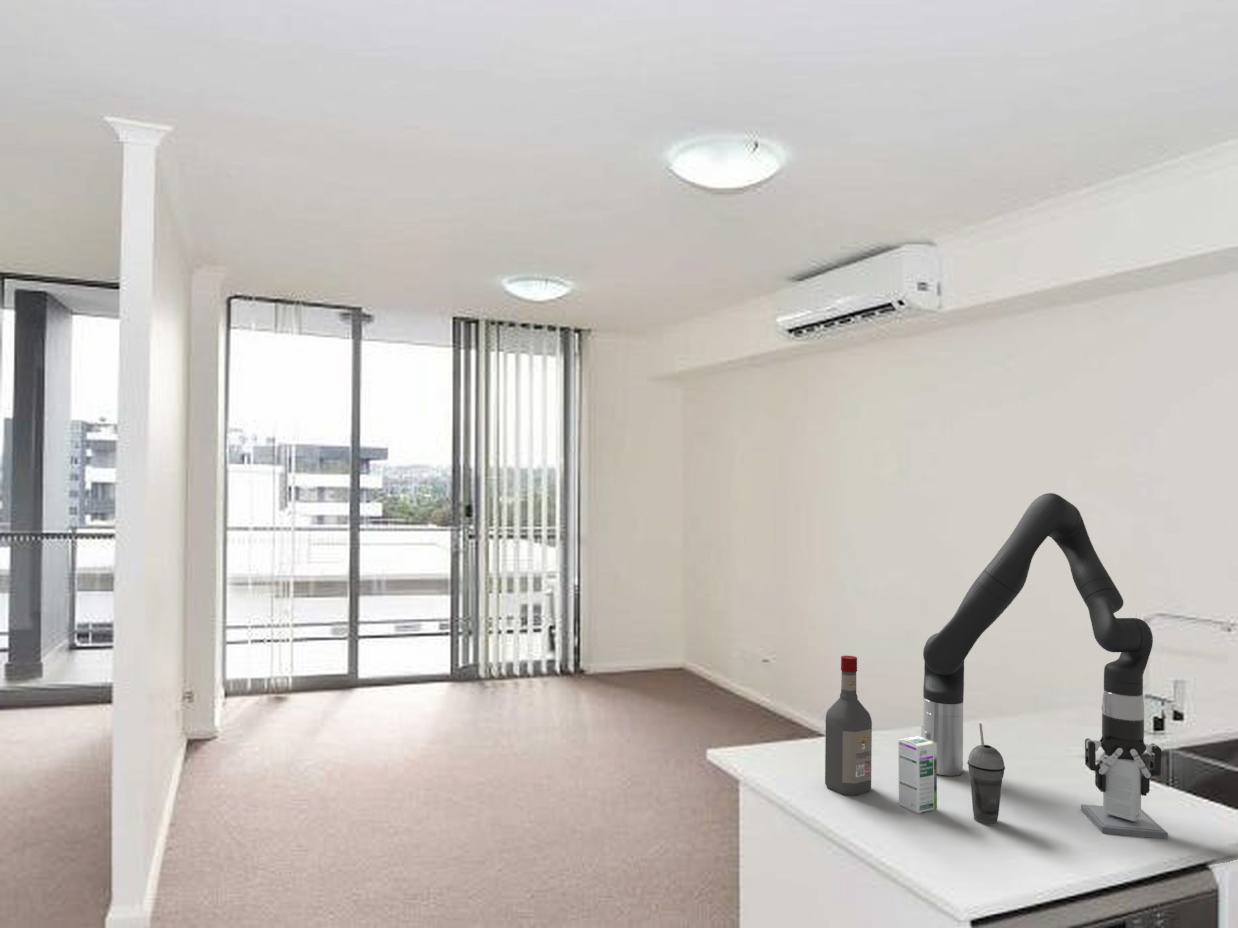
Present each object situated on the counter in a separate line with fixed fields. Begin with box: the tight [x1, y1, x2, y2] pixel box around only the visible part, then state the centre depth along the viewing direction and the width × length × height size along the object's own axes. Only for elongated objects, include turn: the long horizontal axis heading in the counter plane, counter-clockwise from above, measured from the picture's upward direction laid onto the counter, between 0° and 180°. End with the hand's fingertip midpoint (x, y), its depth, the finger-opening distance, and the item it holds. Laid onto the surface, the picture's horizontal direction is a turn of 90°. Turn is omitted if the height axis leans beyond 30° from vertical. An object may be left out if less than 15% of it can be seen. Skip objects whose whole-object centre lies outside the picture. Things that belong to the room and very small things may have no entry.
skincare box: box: [1102, 755, 1142, 821], centre depth 171 cm, size 6×4×12 cm
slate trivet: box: [1080, 803, 1169, 840], centre depth 171 cm, size 12×12×1 cm
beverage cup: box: [966, 722, 1006, 826], centre depth 171 cm, size 7×7×20 cm
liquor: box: [824, 655, 873, 797], centre depth 188 cm, size 9×9×30 cm
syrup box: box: [897, 735, 938, 814], centre depth 178 cm, size 6×6×14 cm
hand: (1122, 792), depth 171 cm, fingers open, 7 cm apart
